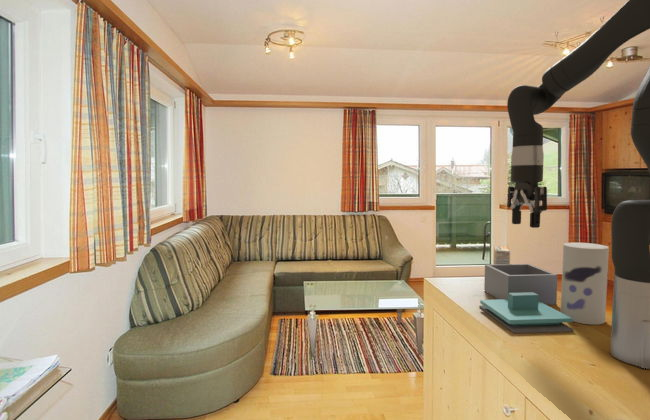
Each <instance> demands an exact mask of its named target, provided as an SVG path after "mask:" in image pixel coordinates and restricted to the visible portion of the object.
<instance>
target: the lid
mask: <svg viewBox="0 0 650 420" xmlns="http://www.w3.org/2000/svg"><path fill="white" fill-rule="evenodd" d="M538 298H539V295H538V294H536V293H534V292H526V293H508V299H480V300H479V302H480V304H481V305H483V306H485V307H486V308H488V309H489V310H490V311H492V312H493V313H495V314H496V315H497V316H499V317H500V318H502V319H503V320H505V321H506V322H507V323H509V324H511V325H513V326H516V325H551V324H559V323H572V322H573V321H572V318H570V317H568V316H566V315H565V314H563V313H561V311H559V310H557V309H555V308H554V307H553V308H552V306H549V305H545V304H544V303H542V302H540V301H538Z"/></svg>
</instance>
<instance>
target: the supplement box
mask: <svg viewBox="0 0 650 420" xmlns="http://www.w3.org/2000/svg"><path fill="white" fill-rule="evenodd" d="M510 260H511V251H510V249H509V247H508V246H501V245H500V246H499V245H498V246H495V245H494V246H493V264H492V265H495V264H511V263H510V262H511V261H510Z"/></svg>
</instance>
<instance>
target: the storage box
mask: <svg viewBox="0 0 650 420" xmlns="http://www.w3.org/2000/svg"><path fill="white" fill-rule="evenodd" d="M558 278H559V277H558V274H557V273H554V272H552V271H548V270H546V269H543V268H540V267H538V266H536V265H532V264H530V263H510V264H495V265H493V264H484V287H483V288H484V289H483V290H485V291H486V292H485V291H484V292H485V293H487V292H488V293H489V294H488V293H487V294H488V295H490V296H491V295H492V296H491V297H493V298H495V300H497V299H508V293H526V292H534V293H536V294H538V295H539V298H538V301H540V302H542V303H544V304H545V305H547V306H549V305H557V299H558V297H557V295H558Z"/></svg>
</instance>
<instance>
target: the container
mask: <svg viewBox="0 0 650 420" xmlns="http://www.w3.org/2000/svg"><path fill="white" fill-rule="evenodd" d="M562 245H563V246H562V250H563V251H562V268H561V269H562V271H561V294H560V296H561V299H560V312H561V313H563V314H565V315H566V316H568V317H570V318H572V322H574V323H578V324H584V325H591V326H592V325H603V324H605V322H606V313H607V292H608V291H607V290H608V288H607V287H608V271H609V253H610V251H609V250H610V248H609V246H608V245H603V244H598V243H592V242H590V243H589V242H565V243H563V244H562Z"/></svg>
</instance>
